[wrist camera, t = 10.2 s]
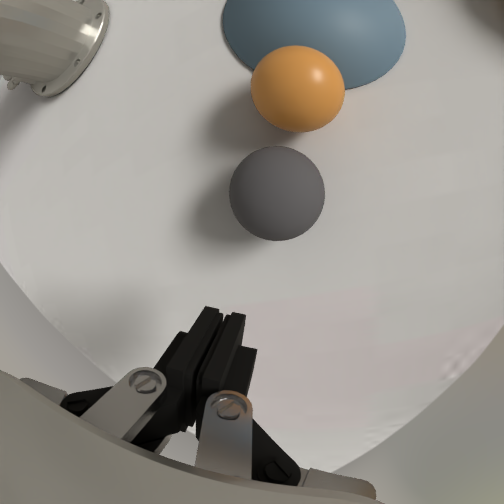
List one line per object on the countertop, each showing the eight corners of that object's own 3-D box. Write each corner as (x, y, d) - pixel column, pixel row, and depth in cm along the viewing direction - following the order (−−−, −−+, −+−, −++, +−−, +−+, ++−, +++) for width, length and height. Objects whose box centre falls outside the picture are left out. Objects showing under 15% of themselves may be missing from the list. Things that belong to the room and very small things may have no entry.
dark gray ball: (209, 164, 13) (266, 116, 15) (210, 228, 18) (255, 178, 20) (313, 219, 12) (350, 157, 14) (286, 273, 17) (322, 214, 19)
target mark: (242, 108, 18) (241, 107, 17) (212, -21, 15) (211, -22, 14) (429, 85, 14) (430, 85, 14) (367, -41, 11) (367, -42, 11)
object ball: (251, 124, 12) (256, 26, 10) (246, 131, 17) (250, 57, 15) (358, 136, 13) (359, 43, 11) (325, 138, 18) (328, 67, 16)
